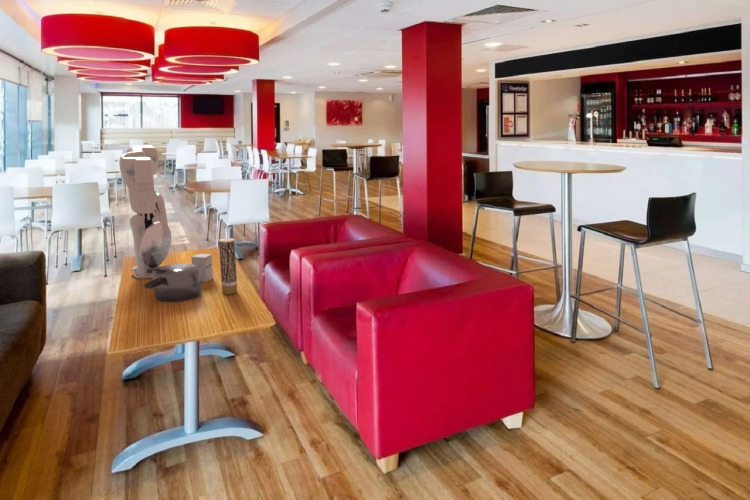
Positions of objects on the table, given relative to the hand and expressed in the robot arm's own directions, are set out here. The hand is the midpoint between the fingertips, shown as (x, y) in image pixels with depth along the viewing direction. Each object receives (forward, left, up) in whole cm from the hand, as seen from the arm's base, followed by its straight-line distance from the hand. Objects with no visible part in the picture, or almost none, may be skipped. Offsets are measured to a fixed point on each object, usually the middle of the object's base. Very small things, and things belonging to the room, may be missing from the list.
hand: (149, 228), depth 245 cm
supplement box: (+10, +24, -31) cm, 40 cm away
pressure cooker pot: (+10, -5, -30) cm, 32 cm away
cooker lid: (+3, 0, -8) cm, 8 cm away
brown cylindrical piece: (+33, +9, -31) cm, 46 cm away
